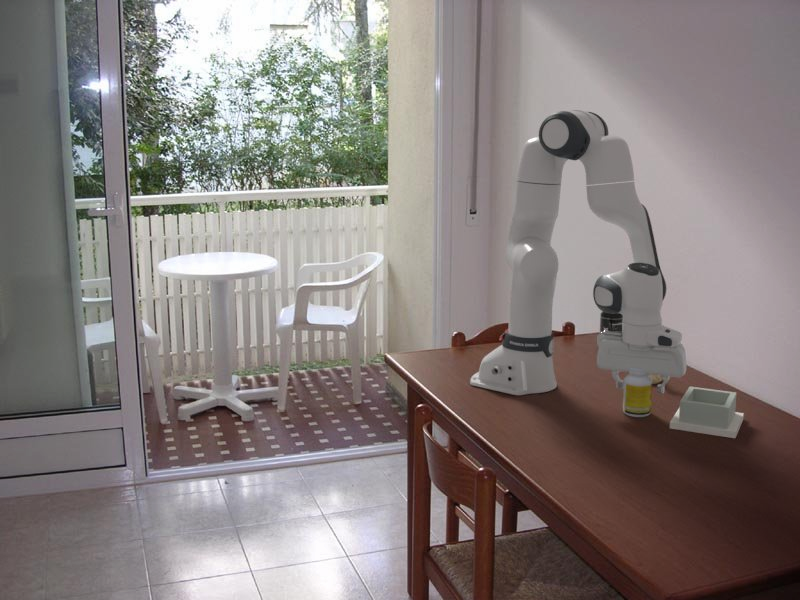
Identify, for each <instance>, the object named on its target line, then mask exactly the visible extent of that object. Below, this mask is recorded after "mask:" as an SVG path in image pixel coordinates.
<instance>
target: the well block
mask: <svg viewBox="0 0 800 600" xmlns="http://www.w3.org/2000/svg"><path fill="white" fill-rule="evenodd" d="M737 394H738V393H737V392H735V391H727V390H719V389H713V388H704V387H696V386H689V387H688V388H687V389H686V392H685V393H684V395H683V396H682V398H681V399H680V401H679V407H678V409H677V411H676V412H675V413H674V415H673V417H672V418H671V419H670V422H669V429H672V430H676V431H677V430H678V431H679V430H680V431H684V432H691V433H692V432H693V433H697V434H705V435H711V436H717V437H723V438H724V437H725V438H732V439H736V437H737V435H738V433H739V430H740V428H741V426H742V423H743V421H744V415H745V413H744V412H739V411H736V408H737Z"/></svg>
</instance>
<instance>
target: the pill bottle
mask: <svg viewBox="0 0 800 600" xmlns="http://www.w3.org/2000/svg"><path fill="white" fill-rule="evenodd" d="M623 380H624V383H623V384H624V385H623V389H622V390H623V393H622V412H623V413H624V414H625V415H627V416H629V417H633V418H645V417H648V416H649V415H650V414H651V411H652V391H653V384H652V379H651V378H650V377H649V376H648V375H647V374H645V369H641V368H632V367H629V372H628V374H627V375H625V377H624V378H623Z"/></svg>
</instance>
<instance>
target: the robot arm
mask: <svg viewBox="0 0 800 600" xmlns="http://www.w3.org/2000/svg"><path fill="white" fill-rule="evenodd" d="M568 160H571V161H577V160H579V161H580V162H581V163H582V165H583V167H584V171H585V182H586V183H585V186H586V198H587V199H586V200H587V203H588V207H589V209H590V210H591V212H592V213H593V214H594V215H595V216H597V218H599V219H600V220H603V221H604V222H607V223H610V224H613V225H615V226H618V227H619V228H621V229H623V231H624V232H626V234H627V236H628V239H629V242H630V243H629V244H630V249H631V254H632V258H633V262H632V263H630V264H627V265H626V267H625V268H623V269H621V270H618V271H615V272H611V273H606V274H604V275H601V276H599V277H598V278H596V281H595V283H594V285H593V291H592V295H593V296H592V297H593V300H594V304H595V306H596V307H597V308H598V309H599V310H600V311H601V312H602V311H603V312H604V313H611V314H614V313H620V314H622V315H623V320H622V332H619V331H608V330H605V331H603V332H601V333H600V332H599V333H598V334H597V337H596V345H597V347H598V350H597V356H596V366H597V367H598V368H599V369H600V370H607V371H611V376H612V377H613V379H614V381H615V388H616V389H620V390H623V385H624V379H621V378H620V376H619V373H620V372H624V373H625V372H626V373H629V367H632V368H641V369H645V374H652V375H659V376H661V378H662V383H657V386H656V393H657V394H662V395H663V394H664V393H665V388H666V387H665V386H666V384H667V383H668V382H669V380H670V378H671V377H673V378H682V377H683V376H684V375H685V374H686V372H687V356H686V350H685V346H684V345H683V344H682V340H683V335H682V334H683V333H682V332H680V331H678V330H676V329H673V328H670V327H669V326H666V325H663V324H662V323H663V320H662V319H663V318H662V315H661V310H662V306H663V303H664V302H663V301H664V299H665V297H666V294H667V283H666V280H665V276H664V274H663V272H662V268H661V266H660V261H659V256H658V252H657V245H656V241H655V235H654V231H653V227H652V223H651V222H652V221H651V219H650V215H649V212H648V209H647V207H646V206H645V205H644V204H643V203H641V201H640V199H639V197H638V194H637V190H636V186H635V174H634V165H633V160H632V157H631V151H630V148H629V144H628V142H627V141H626V140H625V139H624V138H622V137H620V136H616V135H611V134H610V135H609V127H608V125H607V123H606V121H605V120H604V119H603V117H601V116H600V115H599V114H597V113H594V112H591V111H584V110H579V109H573V110H568V111H567V110H559V111H557V112H553V113H552V114H550V115H548V116H547V117H546V118H545V119H544V120H543V121H542V122H541V124H540V127H539V130H538V136H534V137H531V138H530V139H528V140H527V141H525V143H524V144H523V146H522V150H521V153H520V157H519V162H518V165H517V172H516V181H515V192H514V193H515V195H514V203H513V212H512V213H513V214H512V216H511V217H512V218H511V223H510V227H509V232H508V238H507V246H506V249H505V250H506V251H505V258H506V263H507V265H508V267H509V268H510V269H511V271H512V273H511V274H512V281H511V290H510V297H509V302H508V328H507V329H506V330H504V332H503V333H502V334H501V335H500V336H499V342H501V345H499V346H498V347H496V348H495V349H493V350H492V351H490V352H489V353H488V354H486V355H484V357H483V358H482V360H481V362H480V366H479V369H478V370H479V371H477V372H476V373H474V374H473V375H472V376H471V377H470V379H469V380H470V381H469V383H470V385H471V386H475V387H478V388H481V389H482V388H483V389H487V390H491V391H496V392H500V393H504V394H510V395H514V396H524V395H530V394H540V393H541V394H542V393H546V392H551V391H553V390H555V389H556V388H557V387H558V384H557V380H556V375H555V371H554V363H553V353H554V349H555V347H554V346H555V341H554V333H553V332H552V331H553V329H552V328H553V305H554V304H553V302H554V295H555V291H556V284H557V278H558V277H557V276H558V272H559V258H558V254H557V252H556V251H555V249H554V248H553V247H552V246H551V243H552V242H551V241H552V236H553V233H554V228H555V224H556V221H557V218H558V216H559V210H560V209H559V208H560V199H561V197H560V196H561V187H562V177H563V170H564V166H565V164H566V162H567V161H568ZM603 334H604V335H603Z"/></svg>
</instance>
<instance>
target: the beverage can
mask: <svg viewBox="0 0 800 600" xmlns="http://www.w3.org/2000/svg"><path fill="white" fill-rule="evenodd" d="M599 317H600V318H599V333H601V332H603V331H605V330H608V331H619V332H622V320H623V315H622V314H620V313H614V314H611V313H604V312H603V311H601V312H600V315H599ZM603 335H604V334H603Z"/></svg>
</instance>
